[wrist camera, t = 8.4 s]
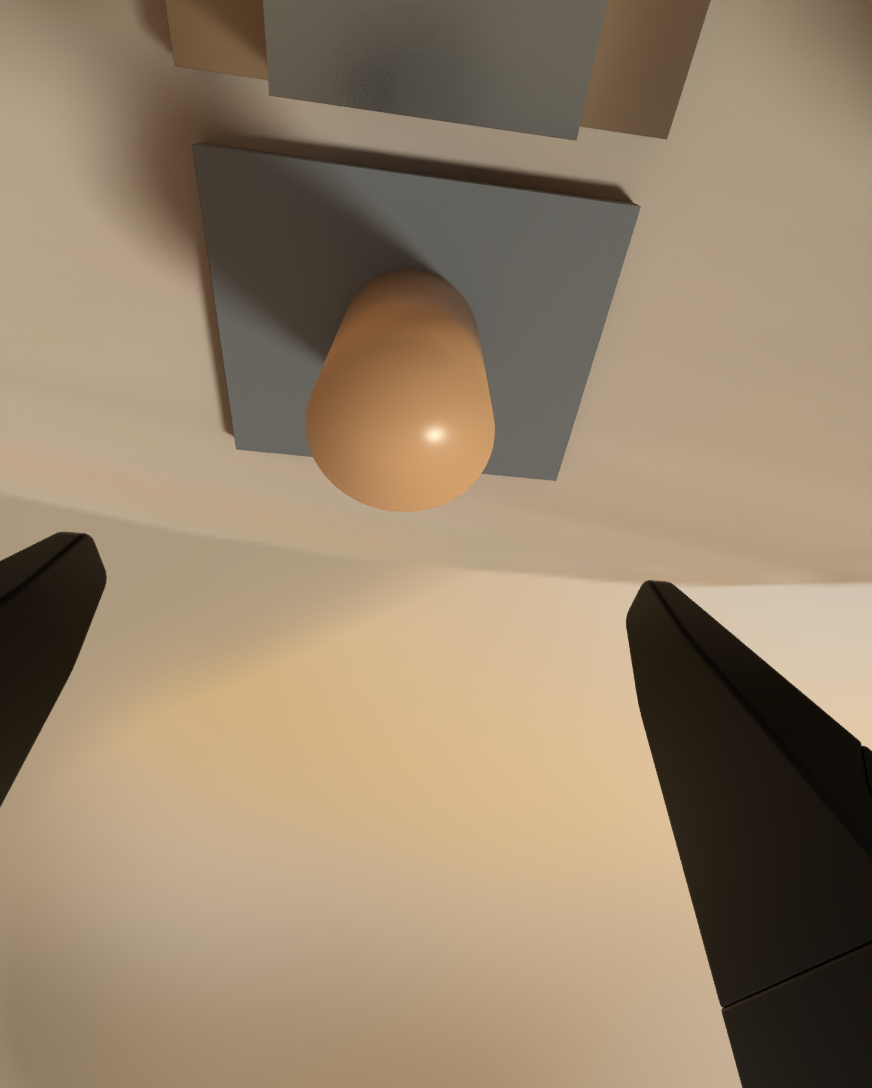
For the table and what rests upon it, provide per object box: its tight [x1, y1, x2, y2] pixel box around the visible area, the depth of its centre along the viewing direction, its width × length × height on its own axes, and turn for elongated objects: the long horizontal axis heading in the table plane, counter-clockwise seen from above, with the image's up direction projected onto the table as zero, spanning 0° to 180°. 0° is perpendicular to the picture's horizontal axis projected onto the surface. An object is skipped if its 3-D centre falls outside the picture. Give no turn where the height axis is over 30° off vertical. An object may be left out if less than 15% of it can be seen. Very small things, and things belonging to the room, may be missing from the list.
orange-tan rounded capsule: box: [306, 270, 495, 512], centre depth 15 cm, size 4×4×6 cm
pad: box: [192, 143, 641, 481], centre depth 17 cm, size 12×9×1 cm
